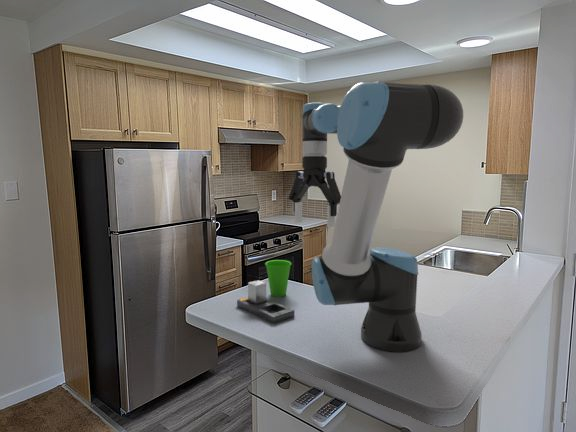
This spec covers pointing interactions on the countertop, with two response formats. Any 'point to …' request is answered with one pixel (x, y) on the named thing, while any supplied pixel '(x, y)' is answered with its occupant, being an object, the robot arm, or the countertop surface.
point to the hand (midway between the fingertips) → (314, 224)
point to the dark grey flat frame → (267, 310)
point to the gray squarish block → (256, 292)
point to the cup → (278, 276)
